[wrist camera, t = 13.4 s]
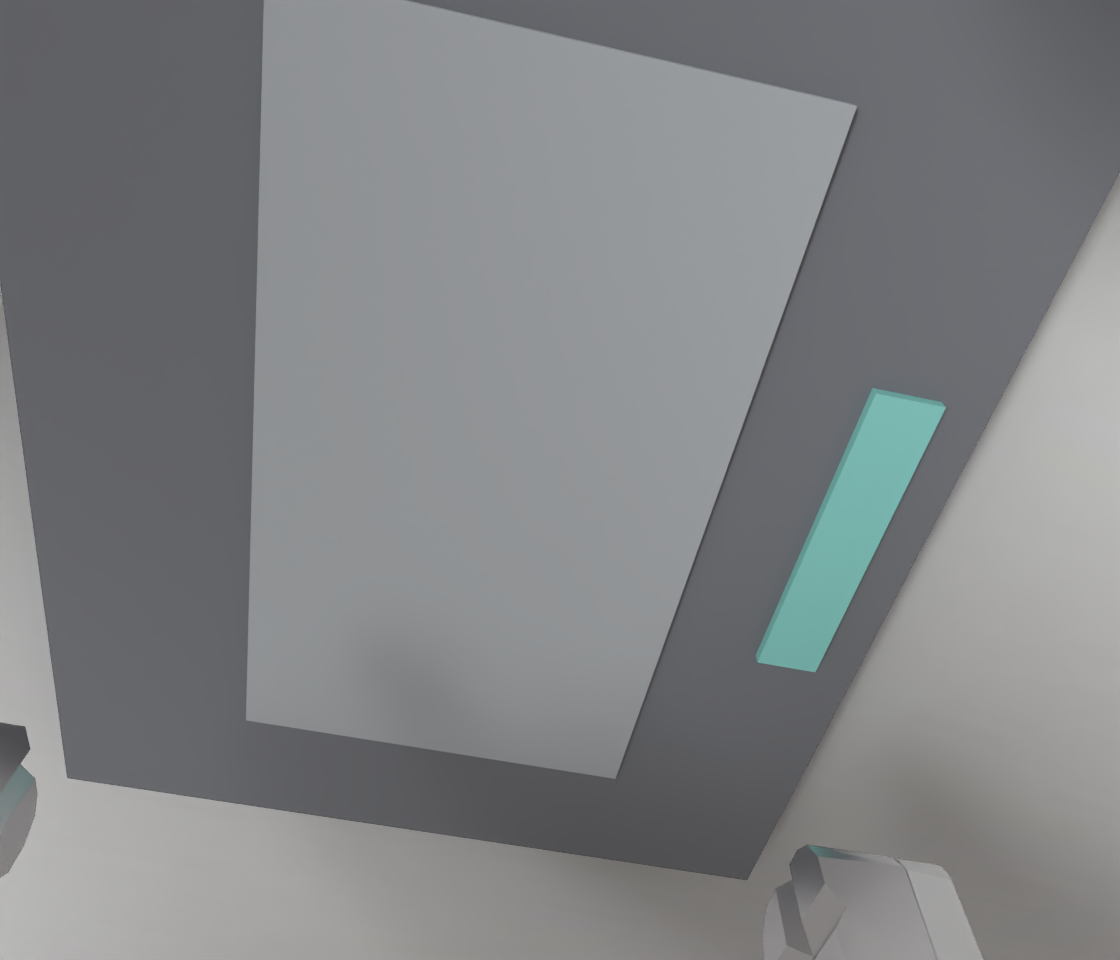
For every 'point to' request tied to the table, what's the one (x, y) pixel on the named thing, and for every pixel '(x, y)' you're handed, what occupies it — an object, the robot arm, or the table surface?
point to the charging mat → (515, 381)
